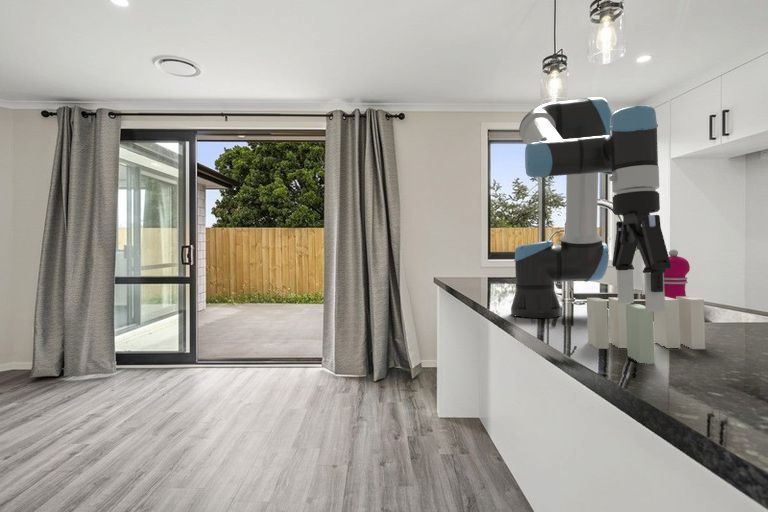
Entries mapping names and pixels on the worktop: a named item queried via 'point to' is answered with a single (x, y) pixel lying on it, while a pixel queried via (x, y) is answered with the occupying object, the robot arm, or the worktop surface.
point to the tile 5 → (692, 322)
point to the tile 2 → (617, 323)
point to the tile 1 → (597, 323)
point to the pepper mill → (676, 276)
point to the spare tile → (640, 333)
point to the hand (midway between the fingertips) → (639, 306)
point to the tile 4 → (668, 324)
